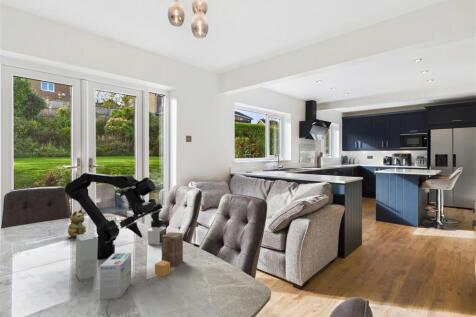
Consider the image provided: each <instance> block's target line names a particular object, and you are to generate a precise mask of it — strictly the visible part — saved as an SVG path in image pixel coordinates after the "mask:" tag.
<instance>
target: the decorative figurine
mask: <svg viewBox="0 0 476 317" xmlns="http://www.w3.org/2000/svg"><path fill="white" fill-rule="evenodd" d="M86 214H87V213H86V212H85V210H83V211H82V209H78V210H77V211H73V212H72V214H71V215H70V218H69V219H70V224H69V225H68V228H67V233H68V234H67V235H68V236H70V237H71V238H77V235H81V234H86V233H87V230H86V228H87V227H86V225H84V221H85V216H84V215H86Z"/></svg>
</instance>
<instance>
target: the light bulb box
mask: <svg viewBox="0 0 476 317" xmlns="http://www.w3.org/2000/svg"><path fill="white" fill-rule="evenodd" d="M131 283H132V252H126V253H125V252H123V253H115V254H112V255H111V256H110V257H109V258H106V260H105V261H103V263H101V264H100V265H99V299H100V300H104V299H105V300H106V299H107V300H108V299H110V300H111V299H121V297H122V296H123V295H124V293H125V292H126V290H127V289H128V288H129V286H131Z"/></svg>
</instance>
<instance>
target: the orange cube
mask: <svg viewBox="0 0 476 317" xmlns="http://www.w3.org/2000/svg"><path fill="white" fill-rule="evenodd" d="M170 273H171V266H170V262H167V261H163V260H162V259H161V260H160V261H159V262H156V263H155V264H154V275H156V276H160V277H165V276H166V275H168V274H170Z"/></svg>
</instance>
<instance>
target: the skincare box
mask: <svg viewBox="0 0 476 317" xmlns="http://www.w3.org/2000/svg"><path fill="white" fill-rule="evenodd" d="M96 235H97V234H94V233H93V232H90V233H89V232H88V233H87V232H86V233H84V234H81V235H77V237H76V244H75V245H76V246H75V266H74V267H75V270H74V272H75V274H76V276H77V277H78V279H79V280H80V281H81V280H85V279H90V278H93V277H97V275H98V274H97V272H98V259H97V250H98V238H97V237H98V236H96Z"/></svg>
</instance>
